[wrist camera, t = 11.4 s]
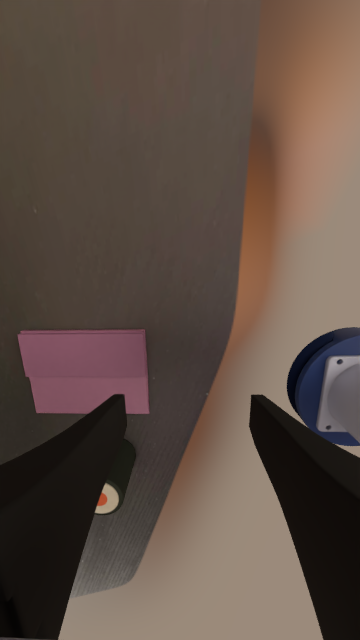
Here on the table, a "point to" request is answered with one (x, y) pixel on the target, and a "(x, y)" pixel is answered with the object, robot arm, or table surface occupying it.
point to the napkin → (85, 368)
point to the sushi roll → (117, 481)
